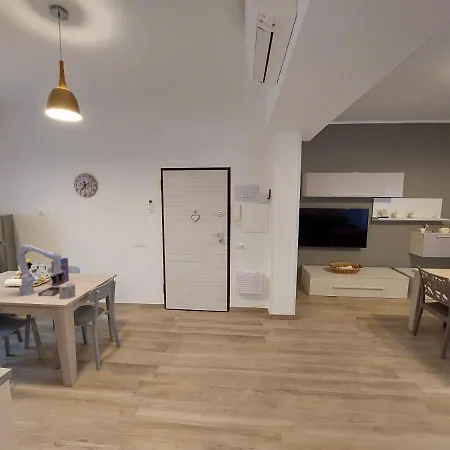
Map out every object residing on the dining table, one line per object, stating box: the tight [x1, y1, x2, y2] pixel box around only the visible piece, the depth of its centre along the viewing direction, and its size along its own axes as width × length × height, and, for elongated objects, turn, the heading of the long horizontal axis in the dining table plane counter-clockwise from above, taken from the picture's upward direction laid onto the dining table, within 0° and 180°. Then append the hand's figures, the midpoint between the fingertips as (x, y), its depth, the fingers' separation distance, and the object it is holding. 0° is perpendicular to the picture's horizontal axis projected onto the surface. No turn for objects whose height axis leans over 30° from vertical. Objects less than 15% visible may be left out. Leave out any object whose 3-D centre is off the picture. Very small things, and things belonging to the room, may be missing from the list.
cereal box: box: [51, 257, 70, 287], centre depth 261 cm, size 17×5×24 cm, turn 178°
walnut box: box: [38, 286, 59, 297], centre depth 233 cm, size 13×17×3 cm
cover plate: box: [41, 290, 58, 297], centre depth 230 cm, size 9×8×2 cm
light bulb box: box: [58, 282, 76, 300], centre depth 224 cm, size 11×7×11 cm, turn 141°
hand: (57, 282), depth 235 cm, fingers open, 7 cm apart
